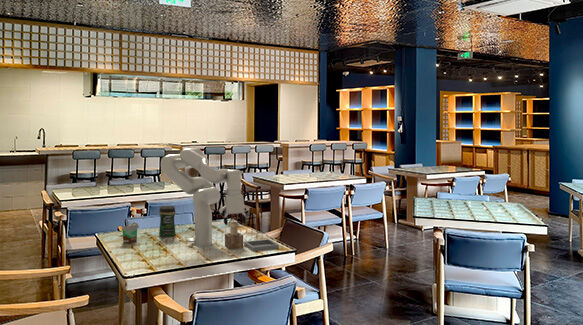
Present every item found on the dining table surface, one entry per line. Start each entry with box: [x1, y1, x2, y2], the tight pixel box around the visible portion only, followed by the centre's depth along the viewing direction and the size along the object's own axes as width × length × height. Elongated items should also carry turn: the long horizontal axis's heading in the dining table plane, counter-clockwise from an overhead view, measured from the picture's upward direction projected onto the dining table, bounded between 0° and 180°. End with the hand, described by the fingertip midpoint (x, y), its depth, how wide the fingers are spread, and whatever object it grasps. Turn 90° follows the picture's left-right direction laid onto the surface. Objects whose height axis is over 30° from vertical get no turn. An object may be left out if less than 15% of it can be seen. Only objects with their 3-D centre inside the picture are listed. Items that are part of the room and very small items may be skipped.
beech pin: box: [229, 220, 239, 236], centre depth 256 cm, size 4×4×14 cm
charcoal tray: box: [243, 238, 280, 252], centre depth 258 cm, size 15×14×3 cm
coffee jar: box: [158, 205, 176, 238], centre depth 286 cm, size 10×8×19 cm
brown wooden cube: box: [224, 232, 244, 251], centre depth 257 cm, size 8×8×8 cm
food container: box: [121, 222, 140, 244], centre depth 272 cm, size 12×6×10 cm, turn 168°
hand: (234, 223), depth 256 cm, fingers open, 9 cm apart
